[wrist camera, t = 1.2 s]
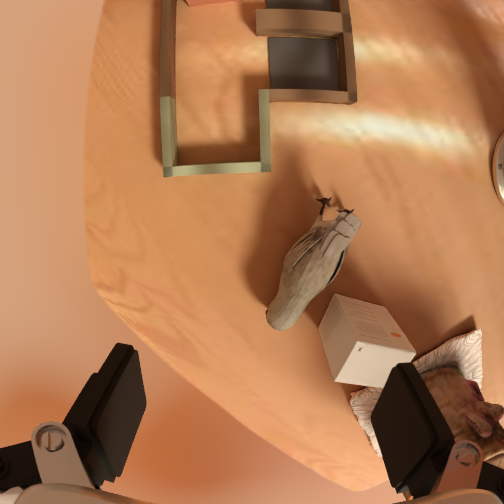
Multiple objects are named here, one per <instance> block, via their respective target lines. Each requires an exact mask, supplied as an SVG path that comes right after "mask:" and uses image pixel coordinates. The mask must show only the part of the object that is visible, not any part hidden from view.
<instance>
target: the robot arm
mask: <svg viewBox="0 0 504 504" xmlns="http://www.w3.org/2000/svg"><path fill="white" fill-rule="evenodd" d="M492 169H493V181H494V186H495V190H496V193H497V195H498V198H499V200H500V201H501V203H502V204H503V205H504V132H503V134H502V135H501V136H500V138H499V140H498V142H497V144H496V147H495V150H494V156H493V166H492ZM145 408H146V396H145V391H144V385H143V380H142V374H141V368H140V362H139V355H138V351H137V350H134V348H133V346H132V345H127V344H122V343H117V344H116V345H115V346H114V348H113V349H112V351H111V352H110V354H109V356H108V357H107V359H106V361H105V362H104V364H103V365H102V367H101V368H100V370H99V372H98V373H93V374H92V375H91V376H90V378H89V380H88V381H87V383H86V384H85V386H84V388H83V389H82V391H81V393H80V394H79V396H78V397H77V399H76V401H75V402H74V404H73V406H72V407H71V409H70V411H69V412H68V414H67V416H66V417H65V419H64V421H63V423H62V424H61V423H58V422H53V421H51V422H45V423H42V424H40V425H39V426H37V427H36V428H35V430H34V431H33V433H32V436H31V441H27V442H23V443H20V444H16V445H12V446H8V447H4V448H0V504H155V503H150V502H146V501H141V500H137V499H133V498H129V497H125V496H121V495H118V494H114V493H109V492H106V491H102V489H101V485H102V484H103V482H104V480H106V481H110V482H113V483H114V481H115V478H116V476H117V477H120V476H121V474H122V471H123V468H124V465H125V463H126V460H127V457H128V454H129V452H130V449H131V446H132V443H133V441H134V438H135V435H136V432H137V430H138V427H139V424H140V422H141V419H142V416H143V414H144V411H145ZM371 424H372V427H373V430H374V433H375V436H376V439H377V442H378V445H379V448H380V451H381V454H382V457H383V460H384V464H385V467H386V470H387V473H388V477H389V480H390V483H391V486H392V487H393V488H395V489H396V492H397V494H398V493H403V492H407V491H410V494H411V496H410V498H409V500H407V501H403V502H399V503H394V504H504V469H502V468H500V467H497V466H495V465H492V464H490V463H487V462H485V461H483V452H482V450H481V448H480V447H479V446H478V445H477V444H476V443H474V442H472V441H470V440H461V441H458V442H457V443H456V442H455V440H454V438H455V437H454V435H453V433H452V431H451V429H450V427H449V425H448V424H447V422H446V420H445V418H444V416H443V414H442V412H441V411H440V409H439V407H438V405H437V403H436V402H435V400H434V398H433V396H432V395H431V393H430V391H429V389H428V388H427V386H426V384H425V382H424V381H423V379H422V377H421V376H420V374H419V372H418V371H417V369H416V367H415V366H414V364H413V363H412V362H406V363H398V364H397V365H396V366H395V367H393V368H392V369H391V372H390V374H389V376H388V379H387V381H386V383H385V385H384V388H383V390H382V392H381V394H380V396H379V399H378V401H377V403H376V405H375V407H374V409H373V411H372V413H371Z"/></svg>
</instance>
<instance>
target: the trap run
mask: <svg viewBox="0 0 504 504" xmlns="http://www.w3.org/2000/svg"><path fill="white" fill-rule="evenodd" d="M333 1H334V9H335V12H333V10H332V1H331V0H267V9H255V15H256V36H302V37H320V38H332V39H338V48H339V61H340V76H341V91H339V78H338V63H337V50H336V40H324V39H309V38H269V59H270V84H271V89H258V93H259V123H260V157H261V161H247V162H223V163H204V164H189V165H178V149H177V127H176V92H175V34H176V2H177V0H162V8H161V31H160V117H161V141H162V160H163V175H164V177H173V176H187V175H203V174H222V173H248V172H271V150H270V116H269V102H313V103H334V104H349V105H351V104H353V103H356V102H357V85H356V70H355V57H354V46H353V36H352V27H351V18H350V11H349V3H348V0H333Z"/></svg>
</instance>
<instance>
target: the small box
mask: <svg viewBox="0 0 504 504" xmlns="http://www.w3.org/2000/svg"><path fill="white" fill-rule="evenodd" d="M318 331H319V335H320V338H321V341H322V344H323V348H324V351H325V354H326V357H327V361H328V364H329V367H330V371H331V374H332V377H333V380H334V382H341V383H347V384H355V385H362V386H370V387H378V388H384V385H385V383H386V381H387V379H388V376H389V374H390V372H391V369H392V368H393V367H395V366H396V365H397V364H398V363H406V362H411V360H412V359H413V357H414V356H415V354H416V351H415V349H414V348H413V346H412V345H411V343H410V342H409V340H408V339H407V337H406V336H405V334H404V333H403V332H402V330H401V329H400V327H399V326H398V324H397V323H396V322H395V320H394V319H393V317H392V316H391V314H390V313H389V312H388V310H387V309H386V307H384V306H380V305H376V304H372V303H369V302H365V301H361V300H358V299H354V298H350V297H346V296H343V295H339V294H336V293H334V295H333V297H332V299H331V301H330V303H329V306H328V308H327V310H326V312H325V314H324V316H323V318H322V321H321V323H320V325H319V327H318Z"/></svg>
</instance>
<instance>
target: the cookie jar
mask: <svg viewBox="0 0 504 504" xmlns="http://www.w3.org/2000/svg"><path fill="white" fill-rule="evenodd" d="M481 339H482V333H481V329H480V328H479V329H476V330H474V331H472V332H470V333H467V334H464V335H460V336H457V337H454V338H452V339H449V340H448V341H447V342H445V343H444V344H442V345H441V346H439V347H438V348H436V349H435V350H433V351H431V352H430V353H428V354H426V355H424V356H422V357H421V358H419V359H418V360H416V361H414V362H412V363H413V364H414V366H415V367H416V369H417V371H418V372H419V374H420V376H421V377H422V379H423V381H424V382H425V384H426V386H427V388H428V389H429V391H430V393H431V395H432V396H433V398H434V400H435V402H436V403H437V405H438V407H439V409H440V411H441V412H442V414H443V416H444V418H445V420H446V422H447V424H448V425H449V427H450V429H451V431H452V433H453V435H454V437H455V438H454V440H455V442H456V443H457V442H458V441H461V440H470V441H472V442H474V443H476V444H477V445H478V446H479V447H480V448H481V450H482V452H483V461H485V462H487V463H490V464H492V465H495V466H497V467H500V468H502V469H504V429H503V427H502V426H501V425H500V423H499V420H500V419H501V418H502V417H503V415H504V408H503V407H502V406H501V405H499V404H491V403H488V402H484V398H483V396H482V392H481V390H482V389H481V382H482V377H483V373H482V362H481V359H482V350H481ZM382 390H383V388H378V387H370V386H368V387H366V388H364V389H362V390H359V391H356V392H352V393H350V394H351V396H352V398H351V400H350V405H351V407H352V408H353V412H354V414H355V415H356V416H357V419H358V423H359V424H360V426H361V427H362V428H363V429H364V430H365V431H366V434H367V435H368V436H369V438H370V441H371V444H372V447H373V448H374V451H375V452H376V453H377V455H379V457H382V454H381V451H380V448H379V445H378V442H377V439H376V436H375V433H374V430H373V427H372V424H371V413H372V411H373V409H374V407H375V405H376V403H377V401H378V399H379V396H380V394H381V392H382ZM403 495H404V496H405V498H406V500H409V498H410V496H411V494H410V491H407V492H403Z"/></svg>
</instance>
